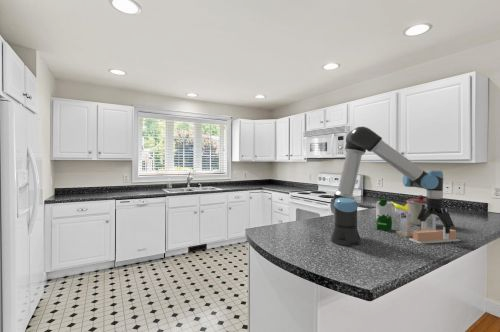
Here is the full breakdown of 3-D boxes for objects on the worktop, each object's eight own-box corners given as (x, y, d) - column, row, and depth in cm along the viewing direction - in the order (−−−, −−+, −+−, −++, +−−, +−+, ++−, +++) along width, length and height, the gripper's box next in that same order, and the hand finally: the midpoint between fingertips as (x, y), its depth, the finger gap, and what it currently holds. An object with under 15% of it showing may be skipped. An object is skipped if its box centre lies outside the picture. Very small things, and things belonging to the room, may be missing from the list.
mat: (419, 243, 136) (419, 242, 136) (408, 239, 143) (408, 238, 143) (460, 241, 141) (460, 239, 141) (448, 237, 148) (448, 236, 148)
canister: (409, 226, 176) (409, 196, 176) (403, 220, 193) (403, 193, 193) (440, 228, 170) (440, 197, 170) (431, 222, 187) (431, 194, 187)
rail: (417, 241, 138) (417, 232, 138) (412, 239, 141) (412, 231, 141) (456, 238, 143) (456, 230, 143) (450, 237, 146) (450, 229, 146)
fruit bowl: (437, 217, 209) (437, 203, 209) (422, 221, 194) (422, 206, 194) (401, 212, 232) (401, 199, 232) (385, 215, 217) (386, 201, 217)
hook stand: (406, 236, 149) (406, 214, 149) (395, 233, 157) (395, 212, 157) (439, 235, 154) (440, 213, 154) (428, 231, 161) (428, 211, 161)
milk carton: (374, 229, 166) (375, 199, 166) (379, 227, 173) (379, 197, 173) (389, 232, 160) (389, 200, 160) (393, 229, 167) (393, 199, 167)
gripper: (462, 200, 131) (462, 241, 130) (421, 195, 155) (420, 229, 155) (450, 201, 129) (450, 242, 129) (410, 195, 153) (410, 230, 153)
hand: (434, 235), depth 142 cm, fingers open, 13 cm apart
